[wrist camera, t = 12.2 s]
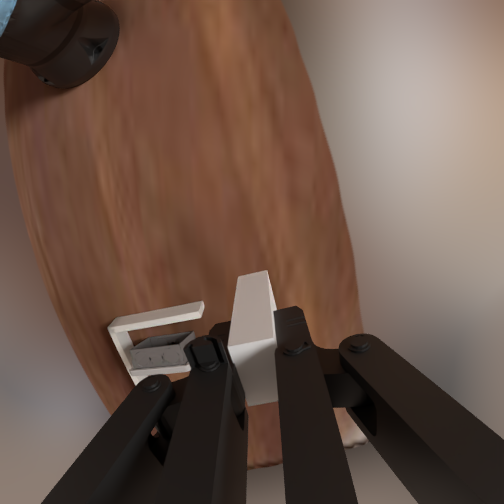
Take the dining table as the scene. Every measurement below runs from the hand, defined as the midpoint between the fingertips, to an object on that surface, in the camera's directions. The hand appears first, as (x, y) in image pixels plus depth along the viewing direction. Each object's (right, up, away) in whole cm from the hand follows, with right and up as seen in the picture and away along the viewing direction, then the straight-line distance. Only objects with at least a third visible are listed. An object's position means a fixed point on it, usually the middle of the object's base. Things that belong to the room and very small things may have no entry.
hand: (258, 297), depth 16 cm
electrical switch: (-13, -11, +31) cm, 35 cm away
